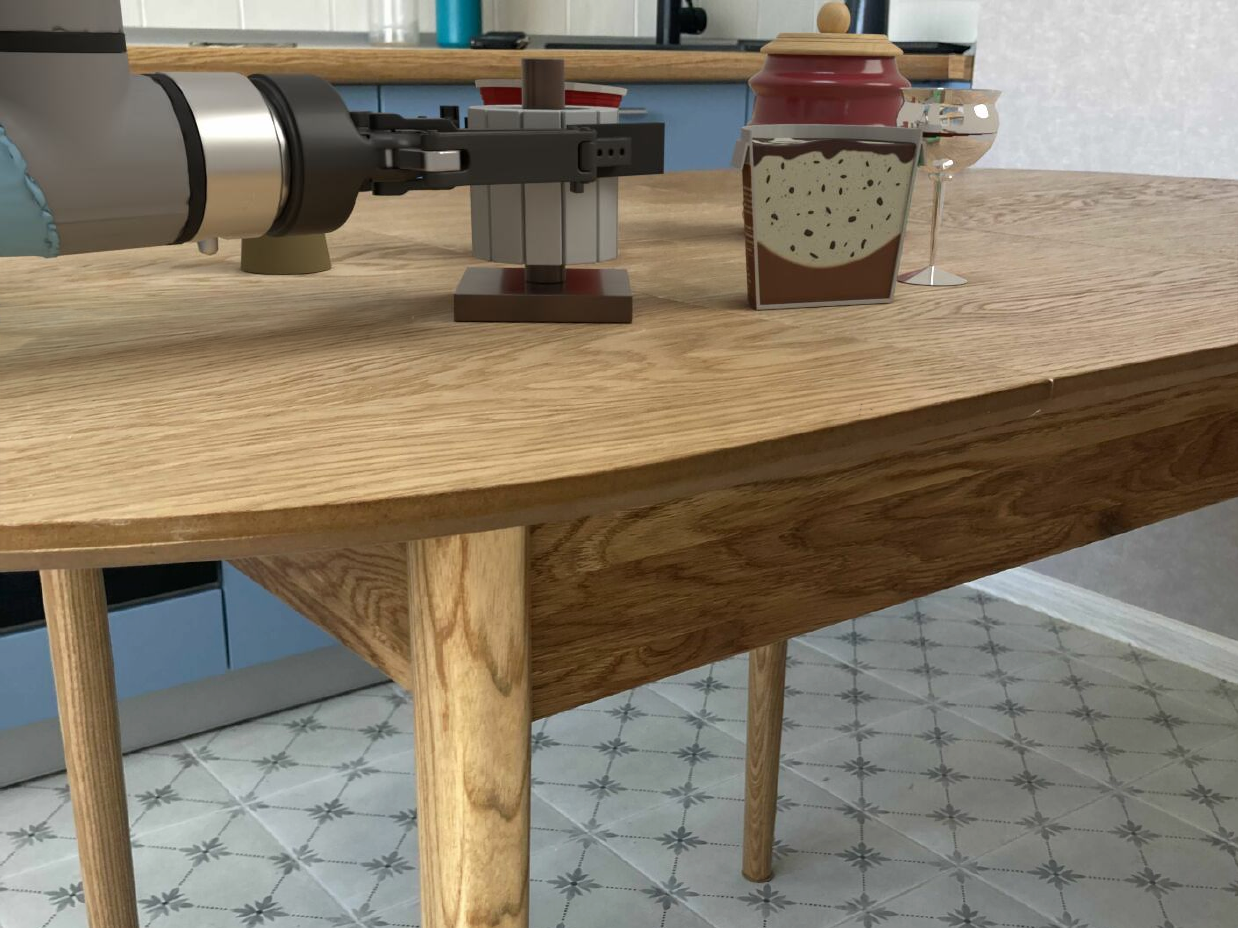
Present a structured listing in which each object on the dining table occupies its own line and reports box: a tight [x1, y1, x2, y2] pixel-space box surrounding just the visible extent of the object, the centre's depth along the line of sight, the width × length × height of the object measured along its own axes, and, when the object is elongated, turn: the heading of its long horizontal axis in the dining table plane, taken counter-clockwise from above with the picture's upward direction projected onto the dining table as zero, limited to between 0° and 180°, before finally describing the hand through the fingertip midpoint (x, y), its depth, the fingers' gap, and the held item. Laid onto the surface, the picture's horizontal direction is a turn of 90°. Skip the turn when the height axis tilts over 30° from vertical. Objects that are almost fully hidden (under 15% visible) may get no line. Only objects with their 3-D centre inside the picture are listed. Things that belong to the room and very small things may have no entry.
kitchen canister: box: [741, 1, 912, 232], centre depth 110 cm, size 13×13×18 cm
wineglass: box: [894, 87, 1003, 286], centre depth 90 cm, size 7×7×12 cm
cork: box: [240, 233, 332, 275], centre depth 90 cm, size 6×6×11 cm
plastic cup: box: [474, 78, 628, 109], centre depth 98 cm, size 11×11×12 cm
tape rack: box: [452, 57, 634, 324], centre depth 78 cm, size 10×10×14 cm
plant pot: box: [466, 104, 620, 266], centre depth 78 cm, size 8×8×8 cm
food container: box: [730, 124, 927, 311], centre depth 83 cm, size 12×6×10 cm, turn 111°
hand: (605, 143), depth 80 cm, fingers closed on plant pot, 9 cm apart
